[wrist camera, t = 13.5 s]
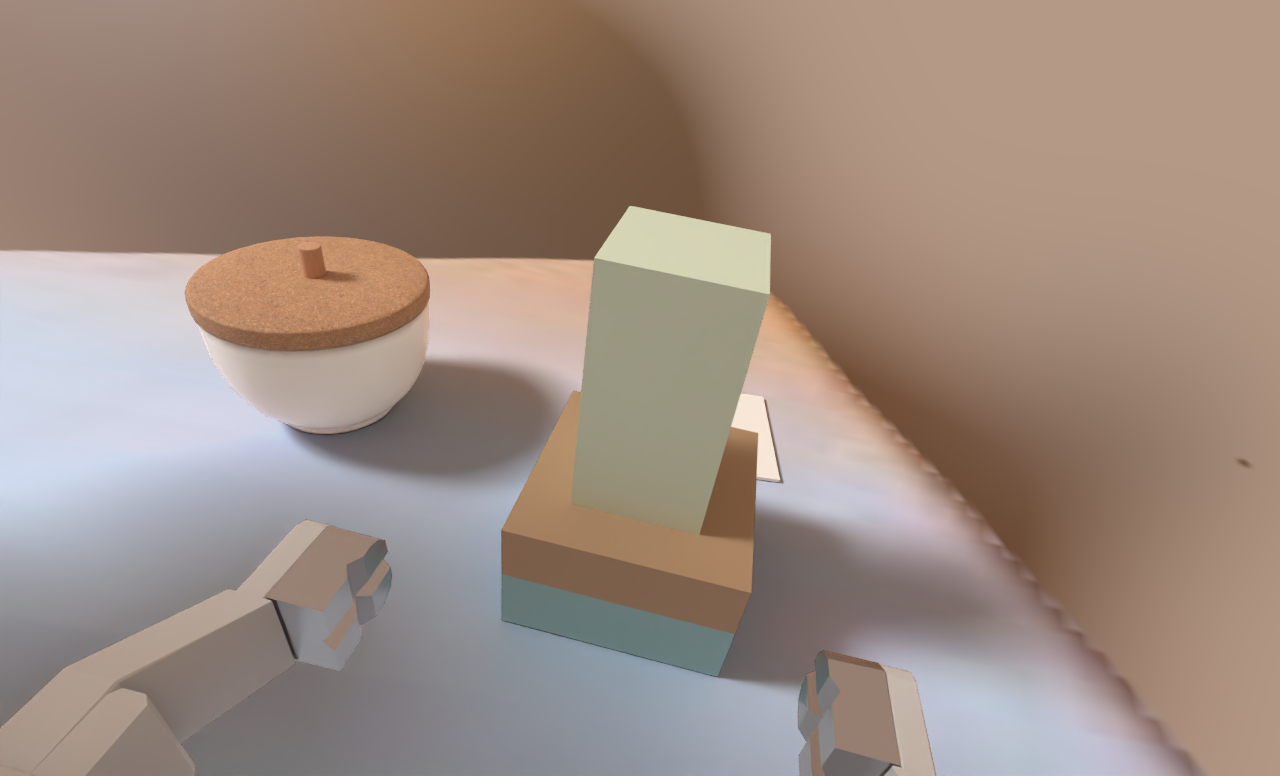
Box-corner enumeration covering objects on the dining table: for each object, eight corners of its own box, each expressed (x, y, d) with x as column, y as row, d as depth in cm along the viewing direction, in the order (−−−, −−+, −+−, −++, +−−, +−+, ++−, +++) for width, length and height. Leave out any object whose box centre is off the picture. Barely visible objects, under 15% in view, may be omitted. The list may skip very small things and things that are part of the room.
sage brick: (570, 503, 22) (594, 257, 16) (602, 424, 26) (630, 205, 21) (699, 535, 22) (769, 294, 16) (711, 449, 26) (770, 233, 20)
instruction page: (603, 457, 33) (604, 454, 32) (616, 378, 39) (616, 374, 39) (779, 482, 33) (780, 478, 33) (762, 399, 40) (763, 395, 39)
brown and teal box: (501, 619, 24) (501, 530, 21) (566, 473, 31) (573, 390, 28) (717, 676, 23) (751, 593, 20) (731, 513, 31) (758, 433, 27)
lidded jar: (253, 493, 27) (192, 318, 22) (212, 376, 34) (156, 218, 28) (468, 423, 33) (462, 273, 28) (399, 335, 40) (383, 199, 34)
